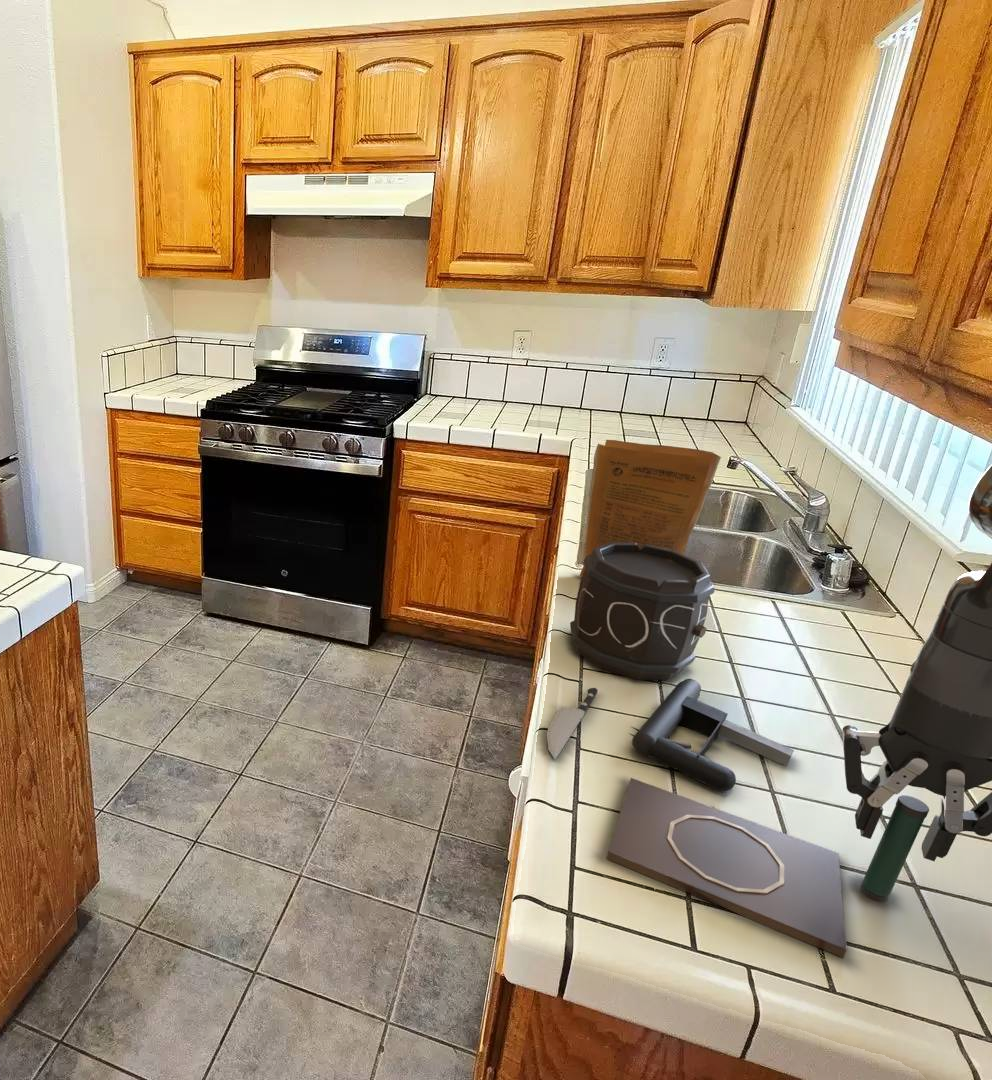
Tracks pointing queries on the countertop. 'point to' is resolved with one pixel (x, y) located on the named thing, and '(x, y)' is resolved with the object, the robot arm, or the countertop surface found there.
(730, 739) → the door handle
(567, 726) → the chef's knife
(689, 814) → the drawing board
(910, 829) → the marker
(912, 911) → the countertop surface
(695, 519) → the pancake mix bag
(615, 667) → the coffee canister
